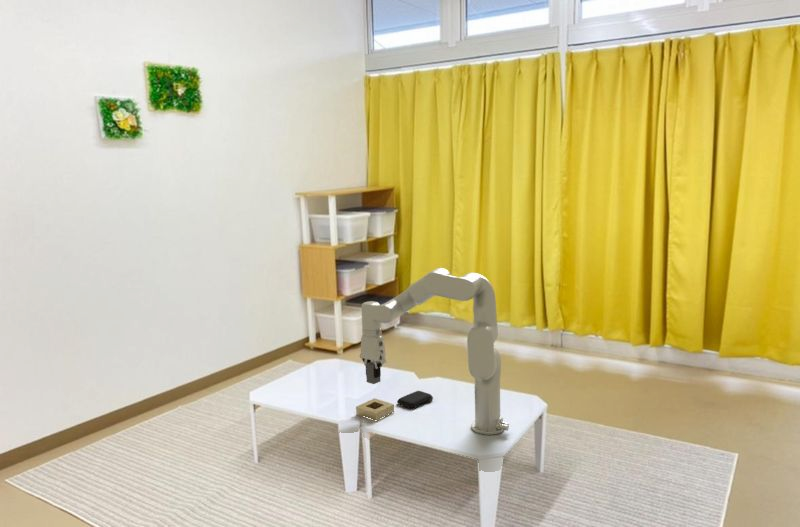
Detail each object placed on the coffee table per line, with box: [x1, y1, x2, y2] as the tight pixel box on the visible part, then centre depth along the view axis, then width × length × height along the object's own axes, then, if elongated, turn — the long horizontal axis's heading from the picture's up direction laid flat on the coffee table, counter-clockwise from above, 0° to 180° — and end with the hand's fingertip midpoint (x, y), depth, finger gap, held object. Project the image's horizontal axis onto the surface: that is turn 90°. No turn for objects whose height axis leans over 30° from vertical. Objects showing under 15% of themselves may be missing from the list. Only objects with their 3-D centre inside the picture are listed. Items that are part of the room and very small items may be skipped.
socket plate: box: [355, 398, 395, 421], centre depth 228 cm, size 11×11×4 cm
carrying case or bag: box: [396, 390, 434, 410], centre depth 238 cm, size 11×3×15 cm
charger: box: [365, 361, 381, 385], centre depth 226 cm, size 4×4×8 cm
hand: (373, 375), depth 226 cm, fingers closed on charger, 4 cm apart
